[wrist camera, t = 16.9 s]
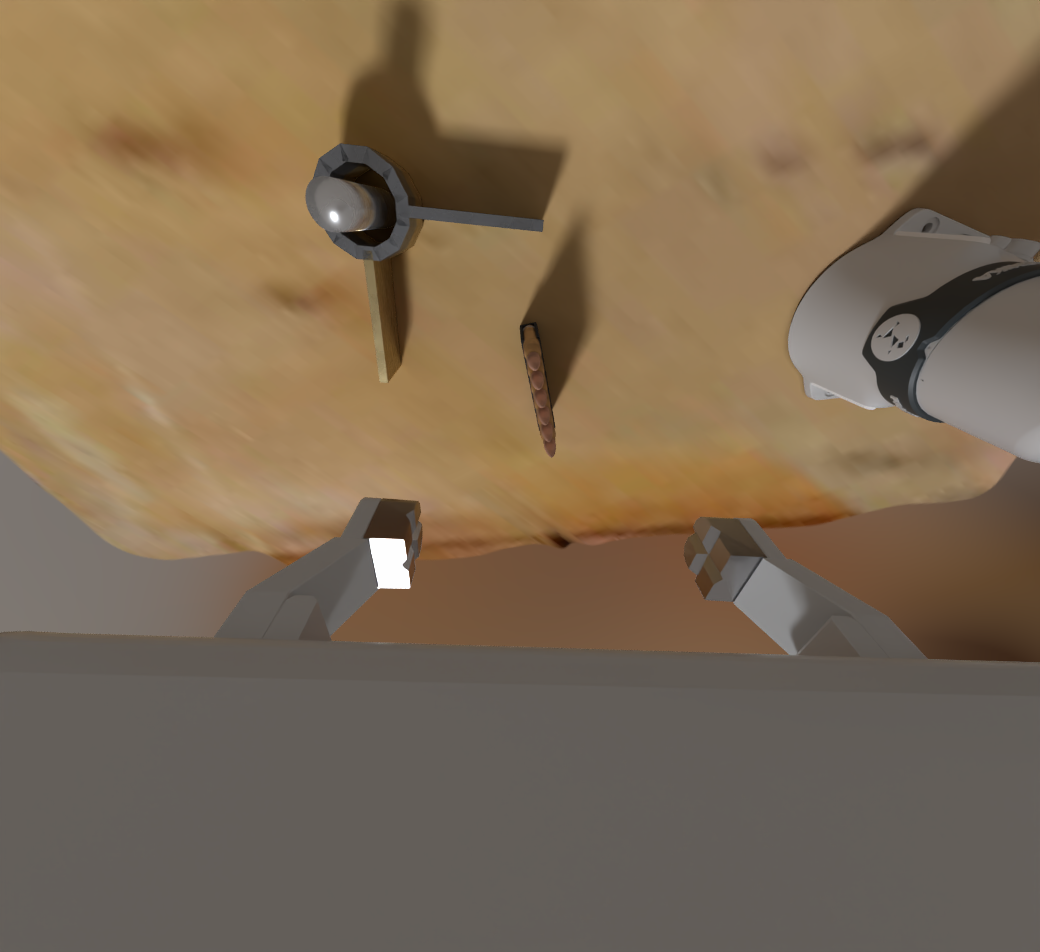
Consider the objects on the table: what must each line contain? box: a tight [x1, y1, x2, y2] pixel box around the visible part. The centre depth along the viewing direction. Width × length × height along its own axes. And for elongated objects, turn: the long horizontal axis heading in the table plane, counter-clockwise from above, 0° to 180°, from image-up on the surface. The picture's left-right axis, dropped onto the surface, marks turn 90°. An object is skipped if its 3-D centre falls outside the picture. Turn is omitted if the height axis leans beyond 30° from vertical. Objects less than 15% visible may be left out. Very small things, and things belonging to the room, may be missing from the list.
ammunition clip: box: [520, 322, 556, 457], centre depth 38 cm, size 11×2×12 cm, turn 12°
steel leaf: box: [313, 144, 544, 261], centre depth 32 cm, size 18×7×6 cm, turn 85°
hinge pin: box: [306, 176, 397, 233], centre depth 29 cm, size 3×3×12 cm
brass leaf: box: [343, 153, 423, 383], centre depth 35 cm, size 7×18×6 cm, turn 175°
